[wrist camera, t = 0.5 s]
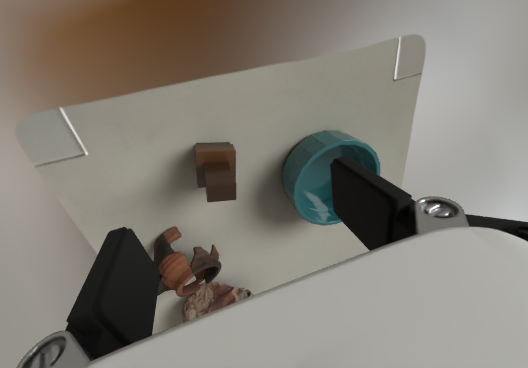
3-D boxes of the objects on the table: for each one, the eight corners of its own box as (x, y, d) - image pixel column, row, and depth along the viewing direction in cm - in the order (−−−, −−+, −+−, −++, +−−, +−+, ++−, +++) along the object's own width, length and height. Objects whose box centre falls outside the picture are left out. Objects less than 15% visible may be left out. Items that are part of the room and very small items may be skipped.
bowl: (285, 129, 34) (300, 141, 29) (366, 128, 37) (392, 139, 33) (277, 209, 40) (289, 230, 35) (347, 202, 44) (366, 220, 39)
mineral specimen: (231, 259, 49) (249, 320, 52) (167, 292, 42) (192, 359, 45) (260, 281, 39) (280, 355, 42) (183, 329, 33) (213, 412, 36)
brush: (194, 141, 31) (195, 173, 23) (231, 140, 32) (245, 170, 24) (197, 174, 33) (199, 214, 25) (231, 172, 35) (244, 210, 26)
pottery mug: (188, 210, 36) (216, 252, 32) (208, 232, 44) (233, 268, 40) (115, 262, 33) (134, 314, 29) (150, 275, 41) (170, 318, 37)
